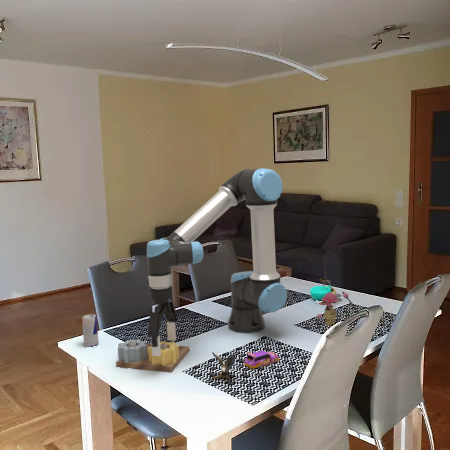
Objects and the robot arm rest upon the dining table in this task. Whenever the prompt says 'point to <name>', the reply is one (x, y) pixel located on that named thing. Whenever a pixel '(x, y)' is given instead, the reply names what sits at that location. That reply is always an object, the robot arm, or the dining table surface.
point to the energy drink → (90, 330)
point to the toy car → (260, 359)
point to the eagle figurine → (225, 365)
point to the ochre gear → (165, 354)
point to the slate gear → (132, 351)
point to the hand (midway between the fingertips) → (164, 347)
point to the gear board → (147, 364)
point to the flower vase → (331, 307)
